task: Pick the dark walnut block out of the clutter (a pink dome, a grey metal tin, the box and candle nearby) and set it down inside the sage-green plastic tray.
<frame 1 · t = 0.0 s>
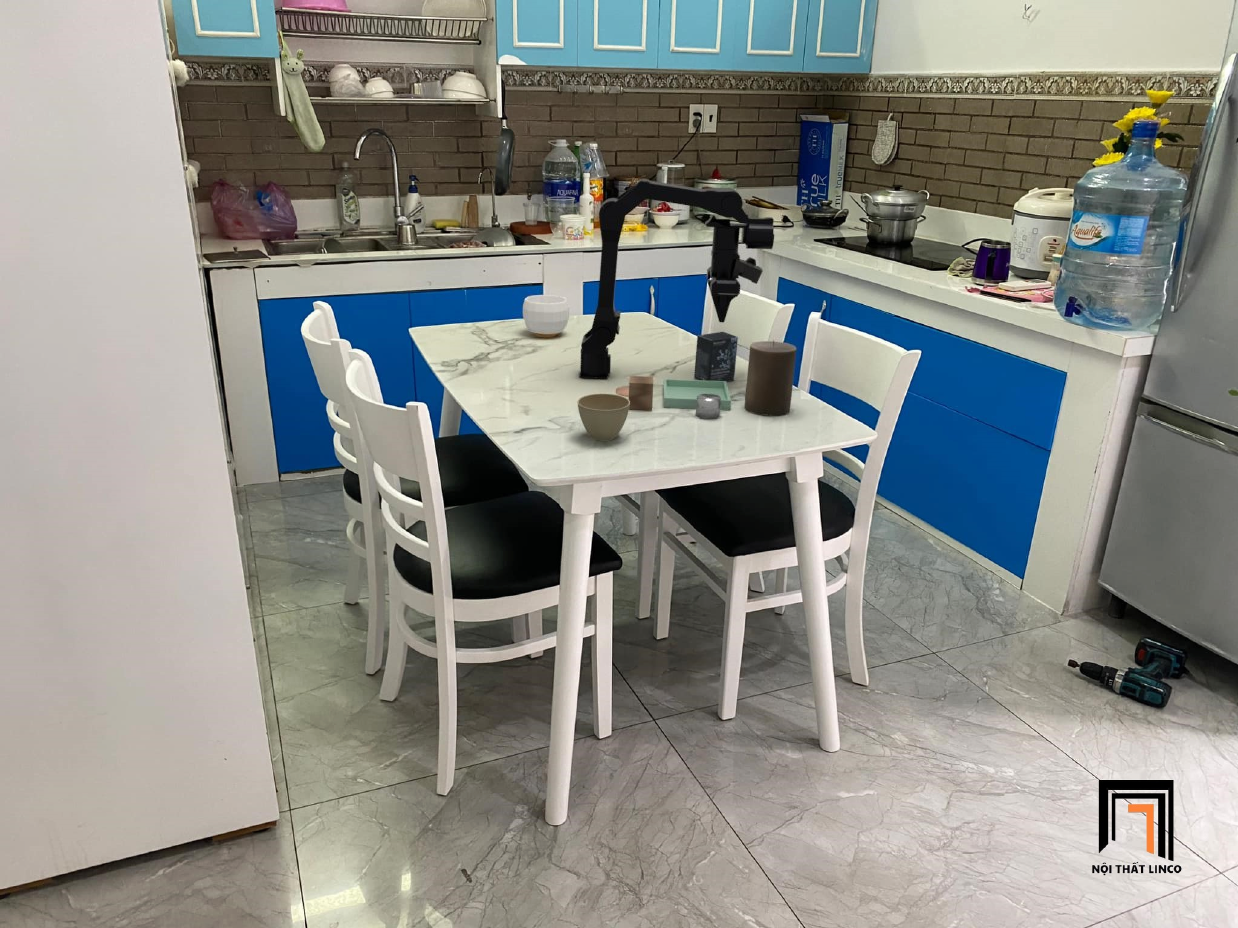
hand: (720, 317, 212), 15 cm above the table, fingers open, 9 cm apart
pink dome: (631, 393, 207), on the table
box: (714, 380, 218), on the table
walnut block: (640, 407, 198), on the table
cup 2: (546, 335, 252), on the table
pillar candle: (767, 409, 199), on the table
grey tin: (707, 415, 194), on the table
tray: (695, 398, 204), on the table
flower pot: (602, 437, 180), on the table
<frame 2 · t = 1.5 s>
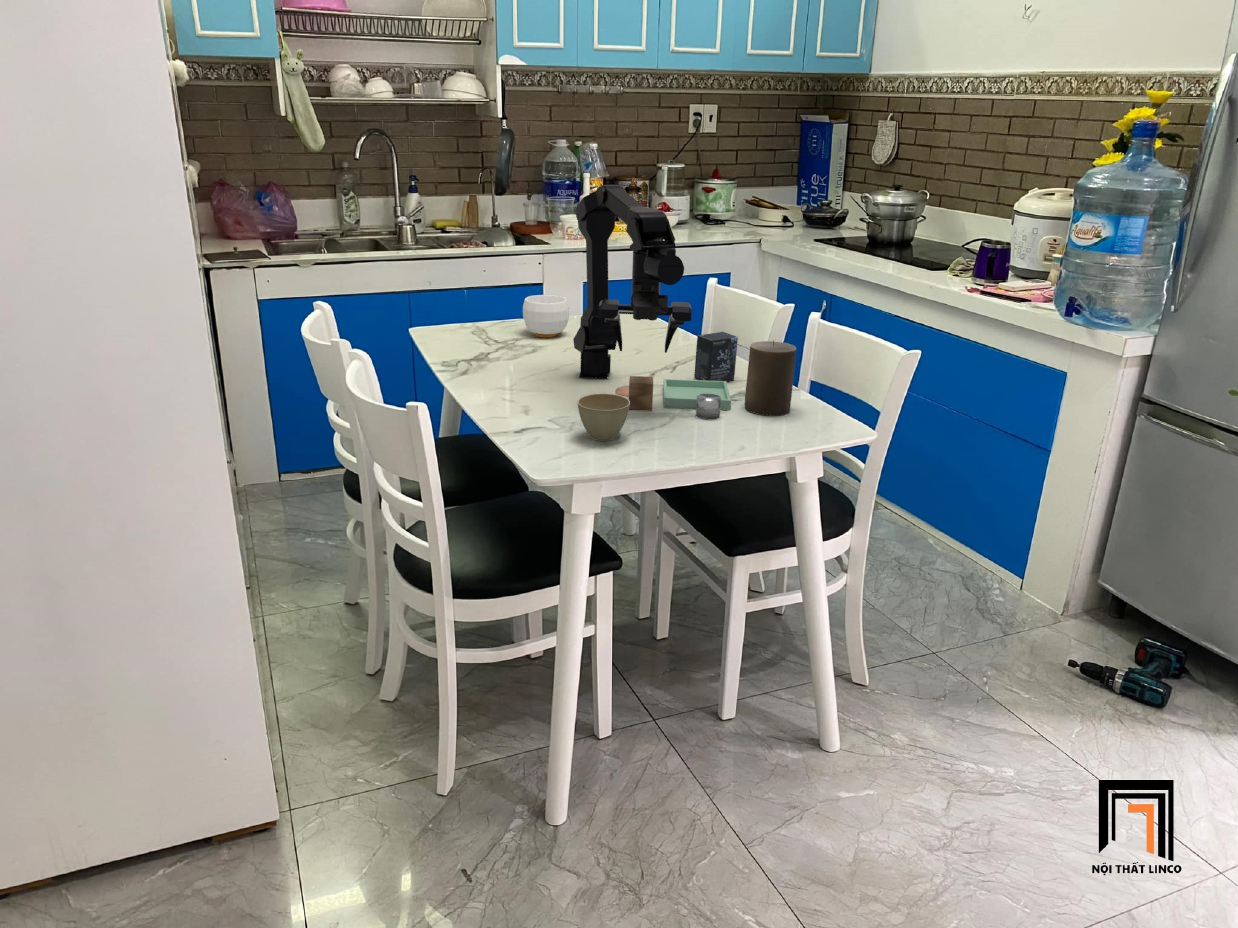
hand: (643, 351, 194), 12 cm above the table, fingers open, 9 cm apart
nothing on the table moved.
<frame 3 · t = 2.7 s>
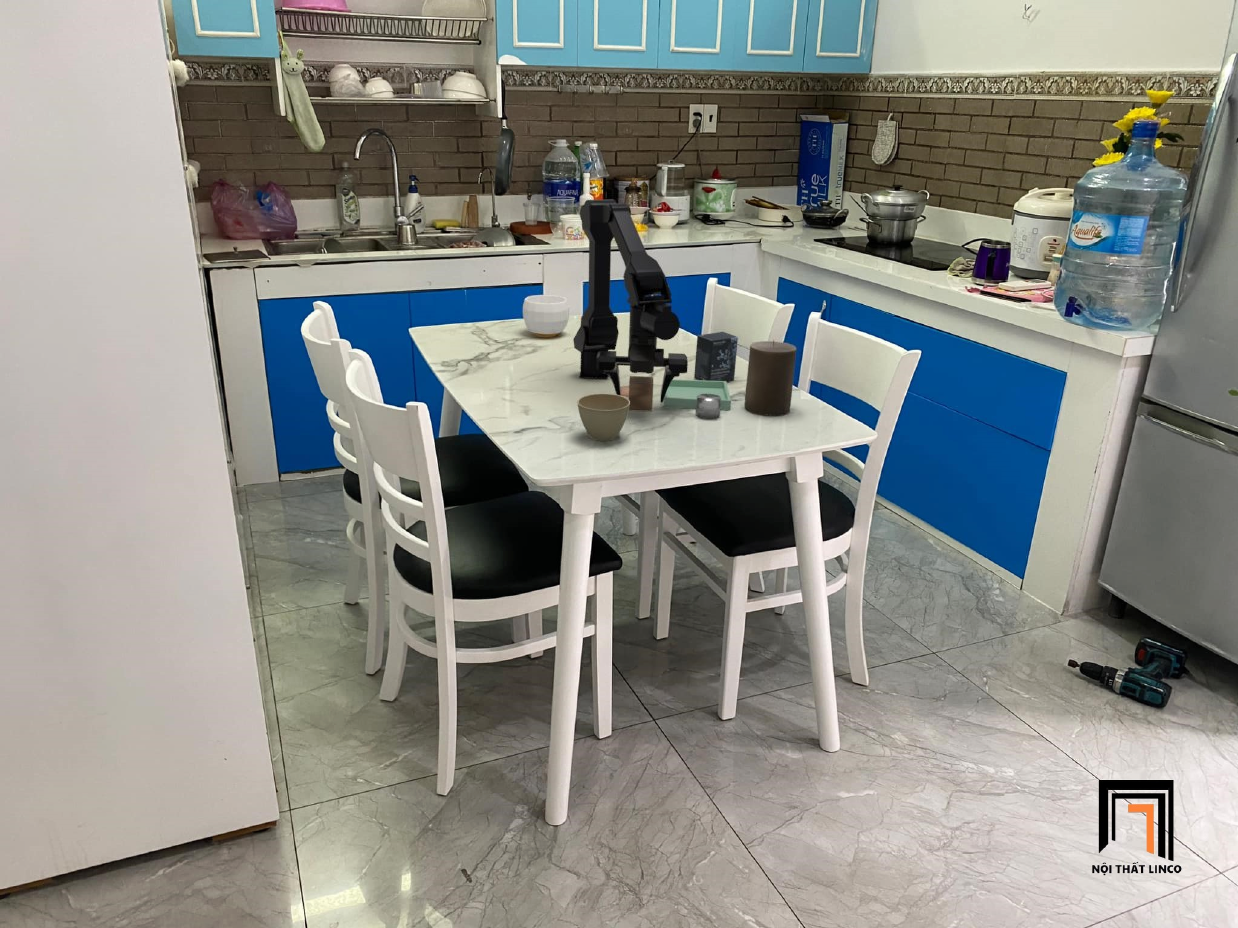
hand: (640, 401, 197), 1 cm above the table, fingers open, 8 cm apart
nothing on the table moved.
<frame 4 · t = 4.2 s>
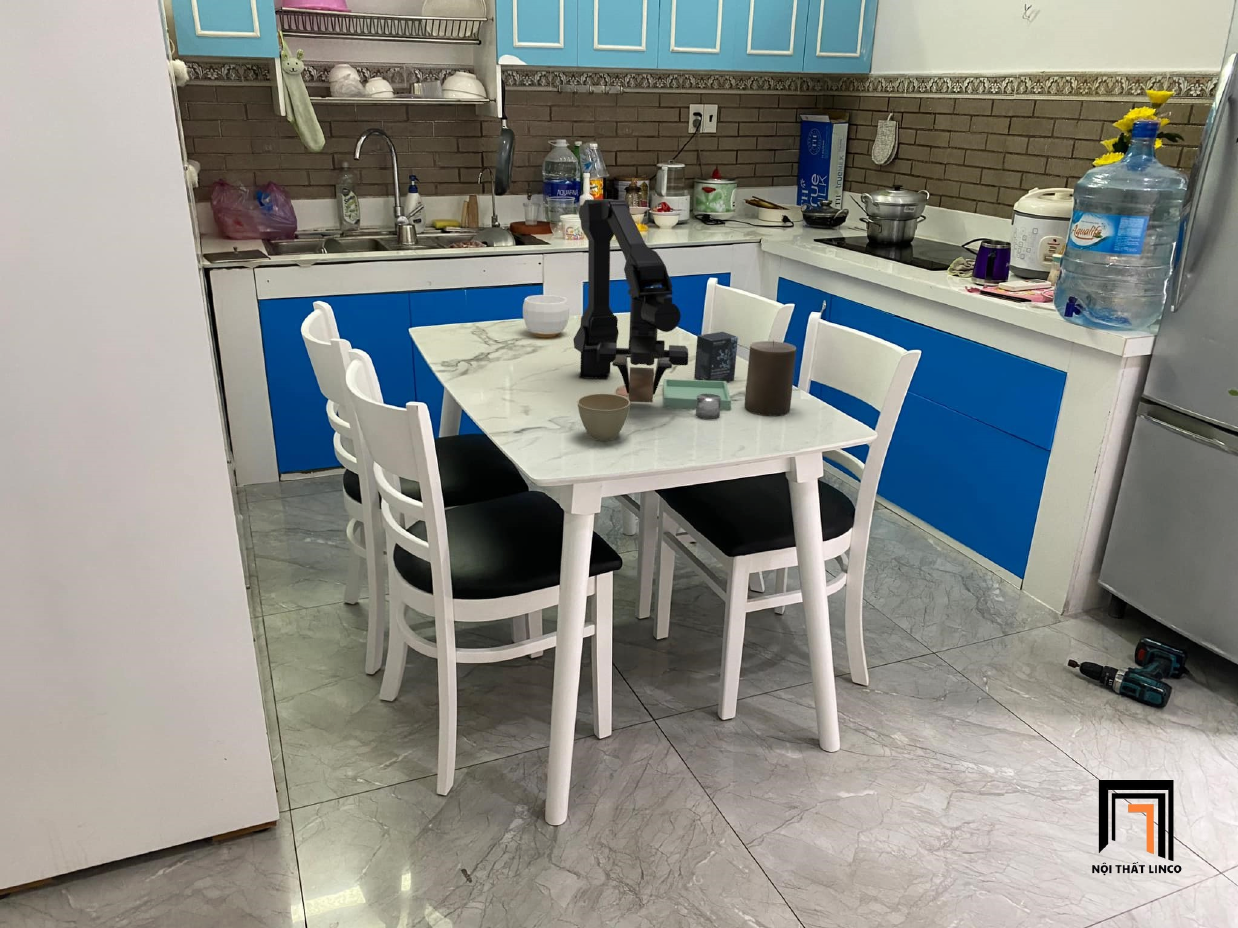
hand: (640, 393, 197), 3 cm above the table, fingers closed on walnut block, 5 cm apart
walnut block: (640, 398, 197), point 2 cm above the table, touching gripper
everything else where it was.
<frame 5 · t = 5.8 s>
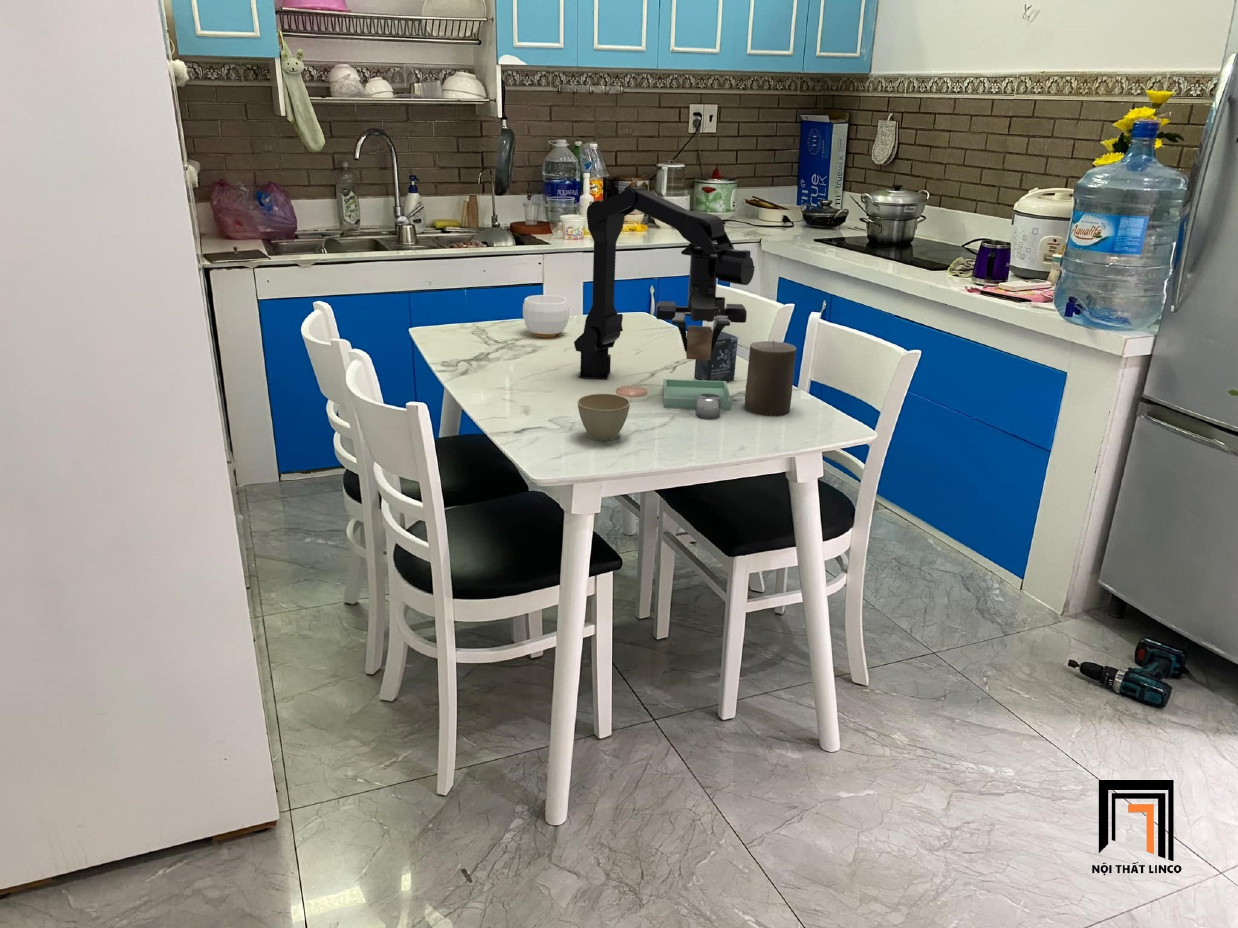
hand: (698, 351, 200), 11 cm above the table, fingers closed on walnut block, 5 cm apart
walnut block: (698, 356, 201), point 10 cm above the table, touching gripper
everything else where it was.
when the fingers open (3 cm above the table, at t = 7.9 s): walnut block drops 1 cm, resting on tray.
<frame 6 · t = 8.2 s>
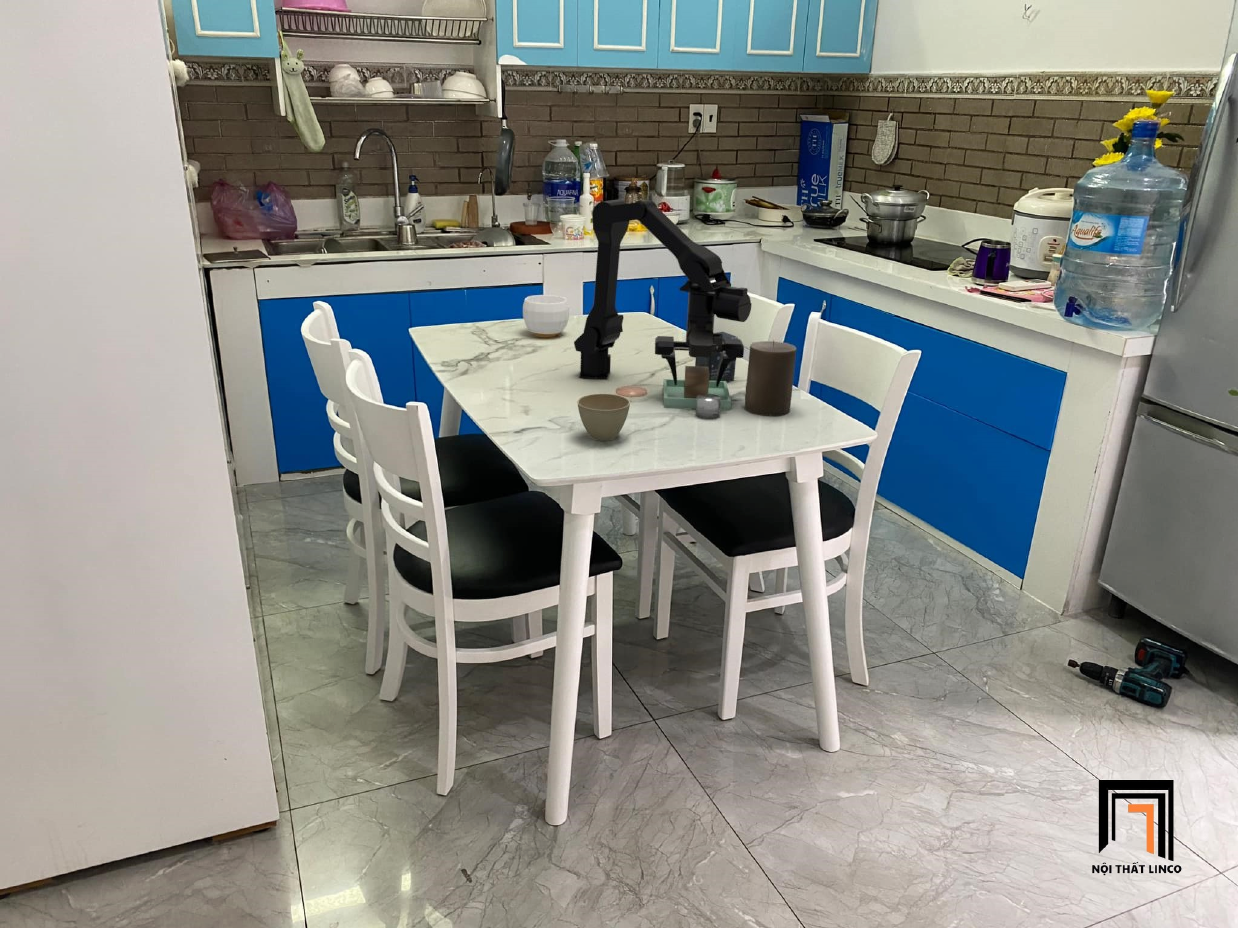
hand: (696, 385, 203), 3 cm above the table, fingers open, 9 cm apart
walnut block: (695, 396, 204), point 1 cm above the table, touching tray
everything else where it was.
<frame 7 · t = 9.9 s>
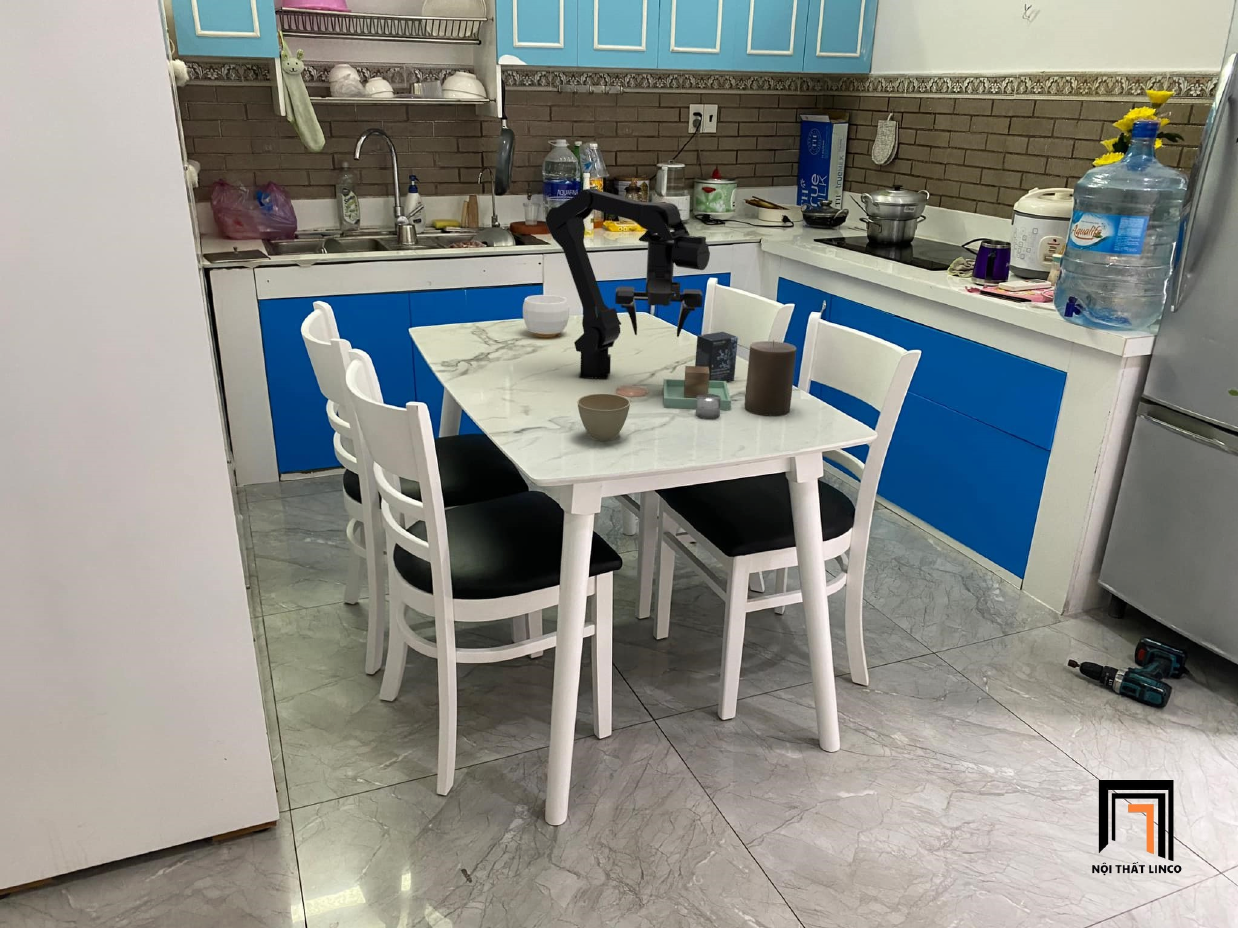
hand: (656, 335, 206), 12 cm above the table, fingers open, 9 cm apart
nothing on the table moved.
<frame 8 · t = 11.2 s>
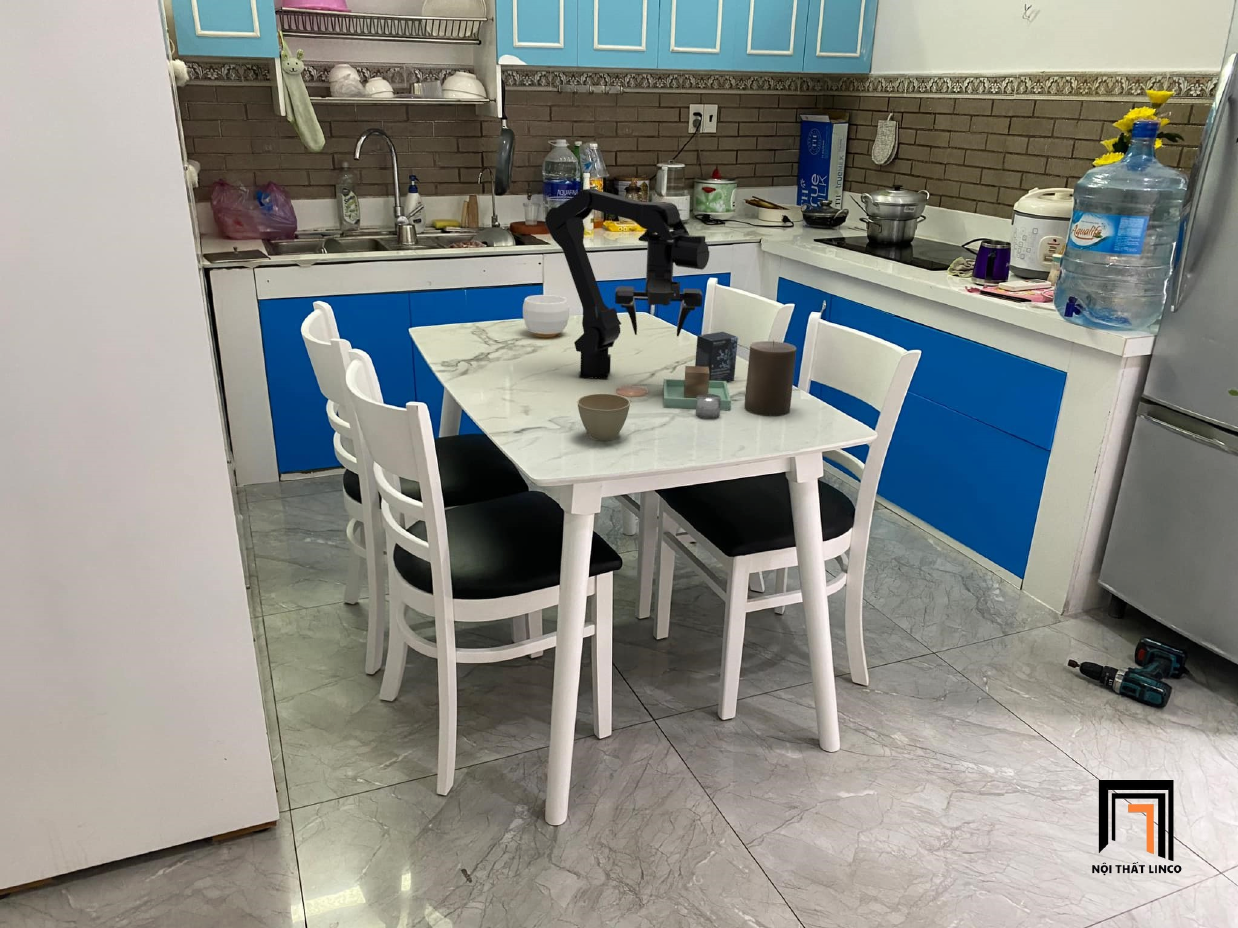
hand: (656, 335, 206), 12 cm above the table, fingers open, 9 cm apart
nothing on the table moved.
at the end: walnut block inside the target area on the tray (0.0 cm from its centre), point 0.6 cm above the tray's base; walnut block tilted 0°; the gripper is holding nothing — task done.
